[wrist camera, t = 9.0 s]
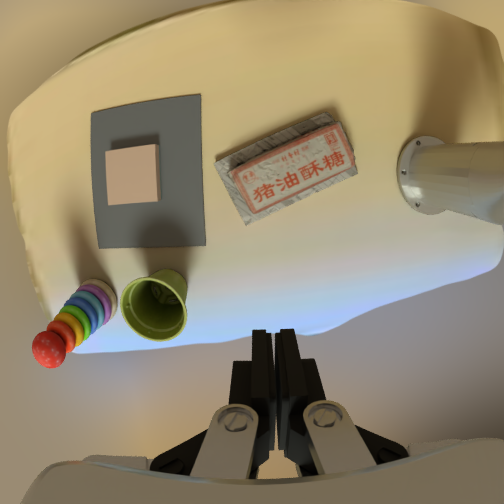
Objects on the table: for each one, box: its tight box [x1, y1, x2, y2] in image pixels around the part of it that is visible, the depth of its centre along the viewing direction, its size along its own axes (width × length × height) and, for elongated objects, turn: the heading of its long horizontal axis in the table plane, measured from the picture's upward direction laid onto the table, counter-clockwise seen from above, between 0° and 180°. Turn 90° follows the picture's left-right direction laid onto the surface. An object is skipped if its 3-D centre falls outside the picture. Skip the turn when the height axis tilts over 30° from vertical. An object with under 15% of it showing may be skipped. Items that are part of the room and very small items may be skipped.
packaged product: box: [214, 112, 358, 226], centre depth 37 cm, size 18×5×10 cm
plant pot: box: [120, 269, 187, 342], centre depth 40 cm, size 9×9×9 cm
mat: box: [91, 95, 206, 249], centre depth 39 cm, size 18×22×1 cm
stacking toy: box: [32, 279, 117, 368], centre depth 36 cm, size 8×8×19 cm
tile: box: [105, 144, 162, 205], centre depth 38 cm, size 2×8×8 cm
